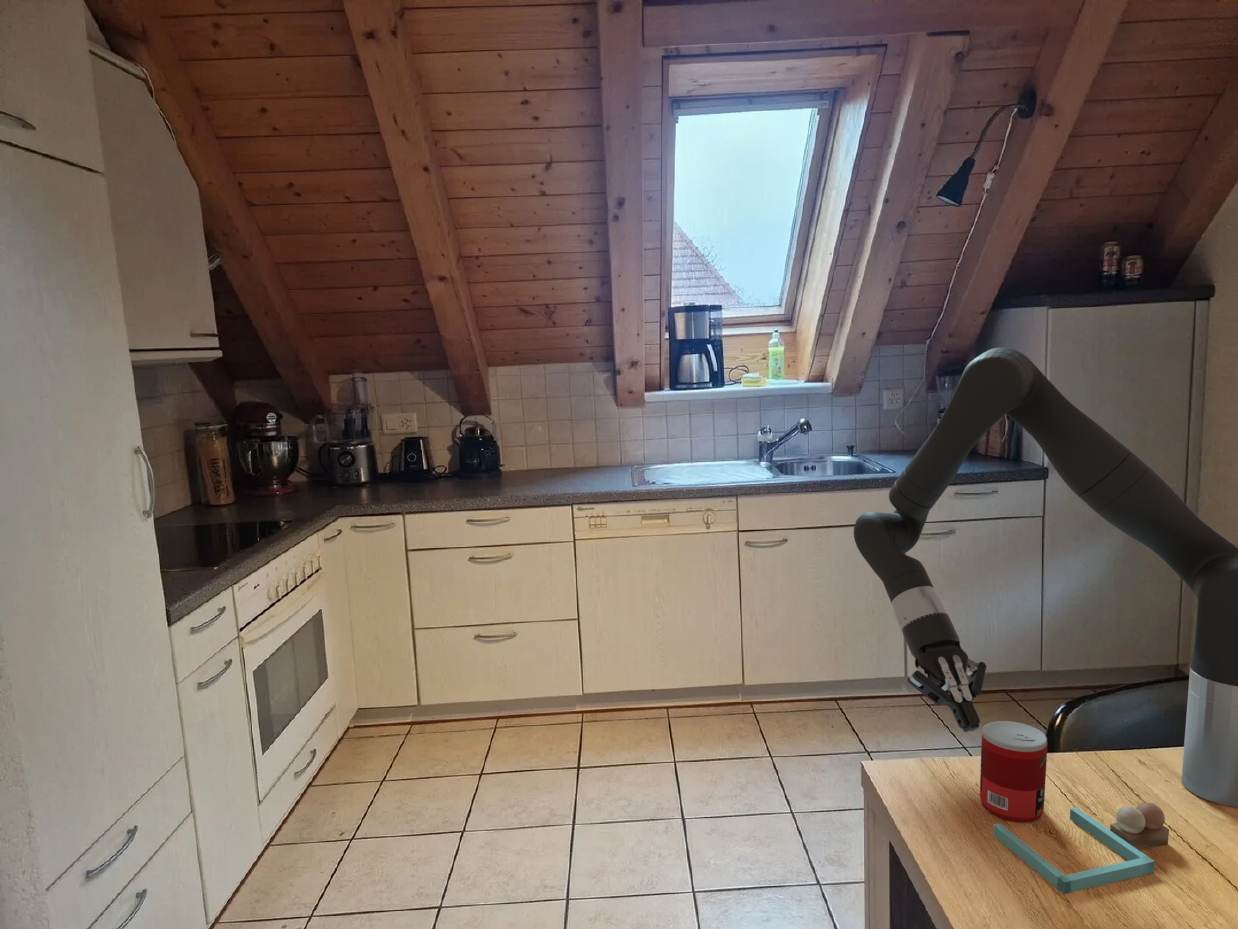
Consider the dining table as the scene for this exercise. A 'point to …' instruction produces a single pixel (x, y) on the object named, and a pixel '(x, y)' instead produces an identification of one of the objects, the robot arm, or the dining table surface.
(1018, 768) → the canned food
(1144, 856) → the teal bay
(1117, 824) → the egg holder with eggs
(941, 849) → the dining table surface
